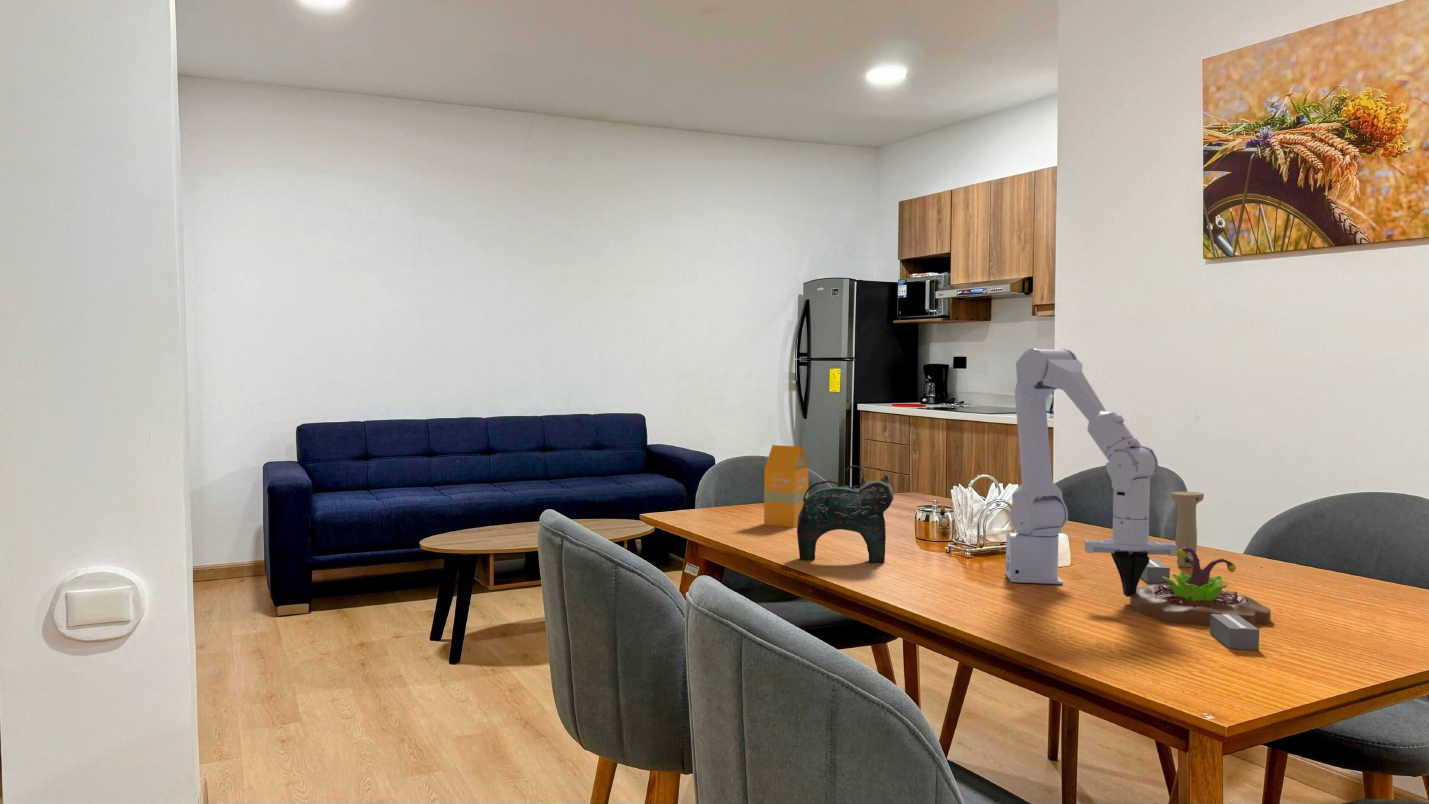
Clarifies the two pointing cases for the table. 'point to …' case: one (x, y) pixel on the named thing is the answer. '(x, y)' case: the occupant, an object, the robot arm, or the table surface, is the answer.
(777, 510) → the orange juice
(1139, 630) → the table surface
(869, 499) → the ceramic cat
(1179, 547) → the handle
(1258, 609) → the plant
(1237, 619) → the grey blocks
